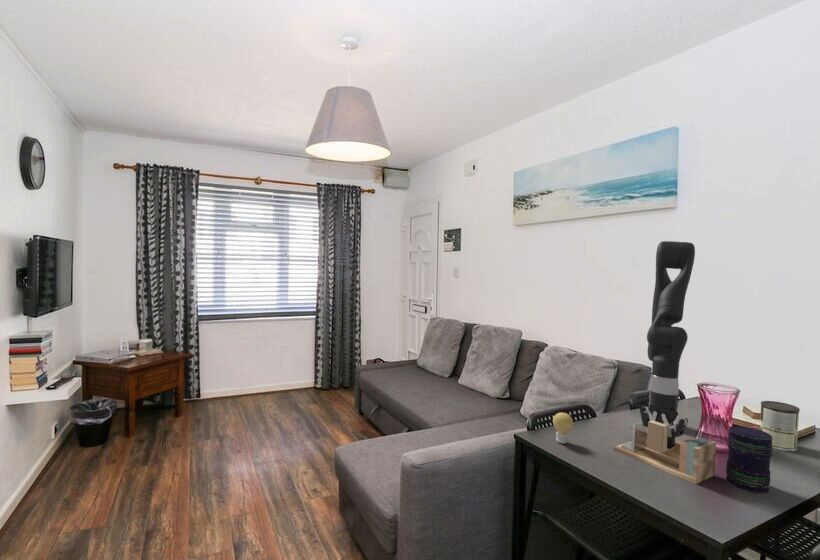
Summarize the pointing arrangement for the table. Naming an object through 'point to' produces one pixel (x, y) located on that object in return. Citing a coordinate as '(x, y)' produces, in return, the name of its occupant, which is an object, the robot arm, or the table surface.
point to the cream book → (658, 436)
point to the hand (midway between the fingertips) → (661, 444)
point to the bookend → (637, 438)
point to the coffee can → (780, 424)
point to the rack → (680, 459)
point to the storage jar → (749, 459)
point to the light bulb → (562, 426)
